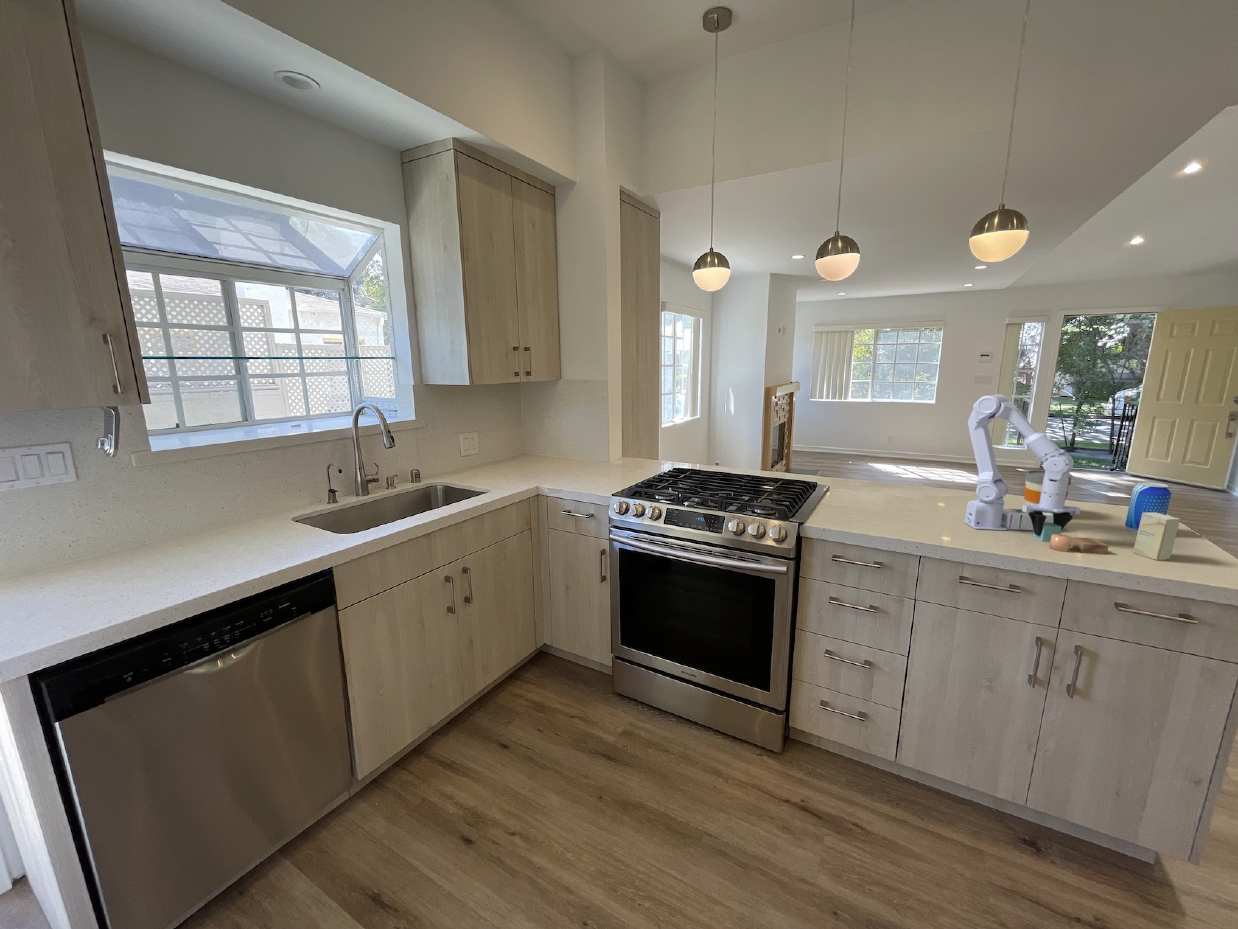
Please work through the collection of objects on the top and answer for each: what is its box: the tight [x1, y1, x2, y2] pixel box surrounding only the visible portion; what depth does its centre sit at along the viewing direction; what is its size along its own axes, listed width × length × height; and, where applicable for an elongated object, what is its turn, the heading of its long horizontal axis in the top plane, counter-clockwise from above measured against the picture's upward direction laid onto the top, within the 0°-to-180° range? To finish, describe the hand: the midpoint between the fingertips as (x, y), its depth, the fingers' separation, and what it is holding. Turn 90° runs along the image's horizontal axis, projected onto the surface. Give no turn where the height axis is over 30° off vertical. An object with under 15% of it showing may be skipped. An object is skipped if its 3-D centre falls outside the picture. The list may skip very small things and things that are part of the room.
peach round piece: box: [1048, 533, 1072, 553], centre depth 144 cm, size 4×4×4 cm
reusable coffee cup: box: [1023, 469, 1072, 505], centre depth 176 cm, size 13×13×15 cm
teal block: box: [1032, 522, 1062, 543], centre depth 152 cm, size 4×4×5 cm
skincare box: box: [1132, 512, 1181, 561], centre depth 137 cm, size 6×4×12 cm
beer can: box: [1124, 481, 1172, 534], centre depth 157 cm, size 8×8×16 cm
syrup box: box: [1001, 508, 1053, 531], centre depth 163 cm, size 6×6×14 cm
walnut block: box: [1070, 536, 1109, 555], centre depth 143 cm, size 6×6×3 cm
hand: (1046, 535), depth 152 cm, fingers closed on teal block, 4 cm apart
